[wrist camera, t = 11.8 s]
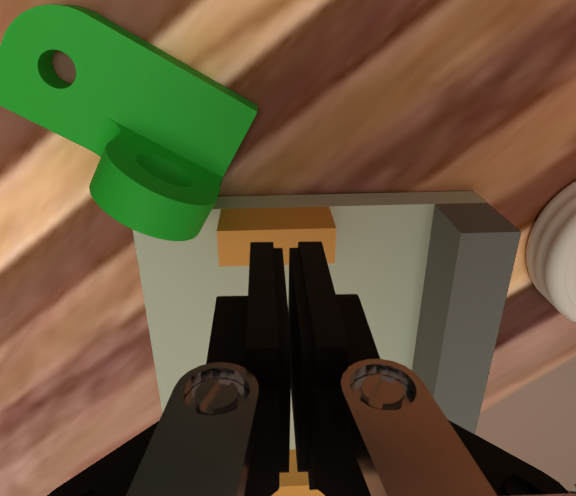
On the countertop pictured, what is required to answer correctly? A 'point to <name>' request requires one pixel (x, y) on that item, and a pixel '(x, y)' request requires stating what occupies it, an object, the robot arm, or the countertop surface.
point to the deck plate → (349, 284)
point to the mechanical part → (127, 116)
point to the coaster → (555, 252)
